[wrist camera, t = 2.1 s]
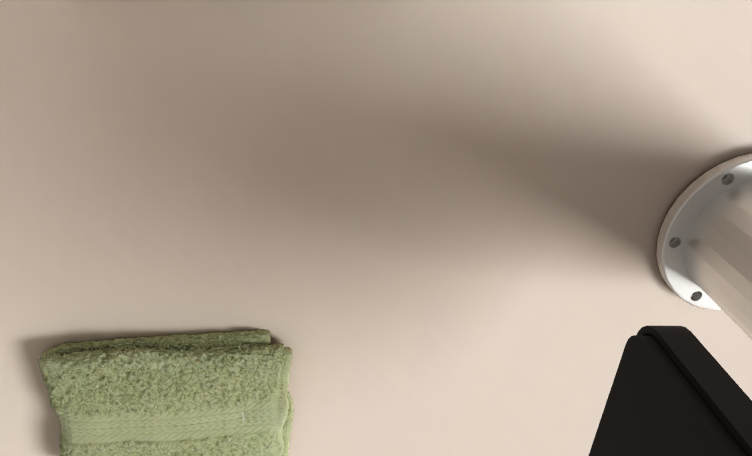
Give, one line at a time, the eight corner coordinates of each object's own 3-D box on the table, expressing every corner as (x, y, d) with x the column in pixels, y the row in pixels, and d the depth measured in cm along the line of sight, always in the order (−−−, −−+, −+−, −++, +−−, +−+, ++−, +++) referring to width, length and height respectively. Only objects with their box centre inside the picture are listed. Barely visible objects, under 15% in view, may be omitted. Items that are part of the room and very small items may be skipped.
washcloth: (294, 451, 55) (293, 482, 52) (71, 461, 52) (58, 494, 50) (292, 322, 48) (292, 350, 46) (41, 327, 46) (24, 356, 44)
